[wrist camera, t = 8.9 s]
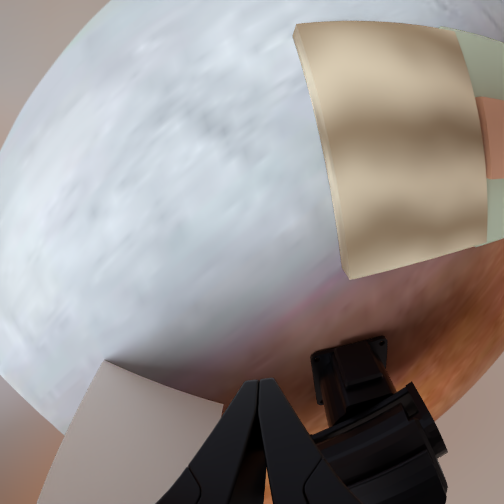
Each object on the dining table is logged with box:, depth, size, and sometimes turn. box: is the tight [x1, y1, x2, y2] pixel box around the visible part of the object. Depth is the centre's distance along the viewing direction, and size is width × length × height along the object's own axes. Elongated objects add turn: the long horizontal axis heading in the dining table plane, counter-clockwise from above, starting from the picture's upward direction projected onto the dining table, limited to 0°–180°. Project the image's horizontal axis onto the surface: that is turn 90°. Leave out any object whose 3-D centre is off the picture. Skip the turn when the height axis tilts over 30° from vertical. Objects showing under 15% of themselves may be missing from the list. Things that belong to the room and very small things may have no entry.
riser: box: [293, 21, 488, 280], centre depth 15 cm, size 16×12×2 cm
